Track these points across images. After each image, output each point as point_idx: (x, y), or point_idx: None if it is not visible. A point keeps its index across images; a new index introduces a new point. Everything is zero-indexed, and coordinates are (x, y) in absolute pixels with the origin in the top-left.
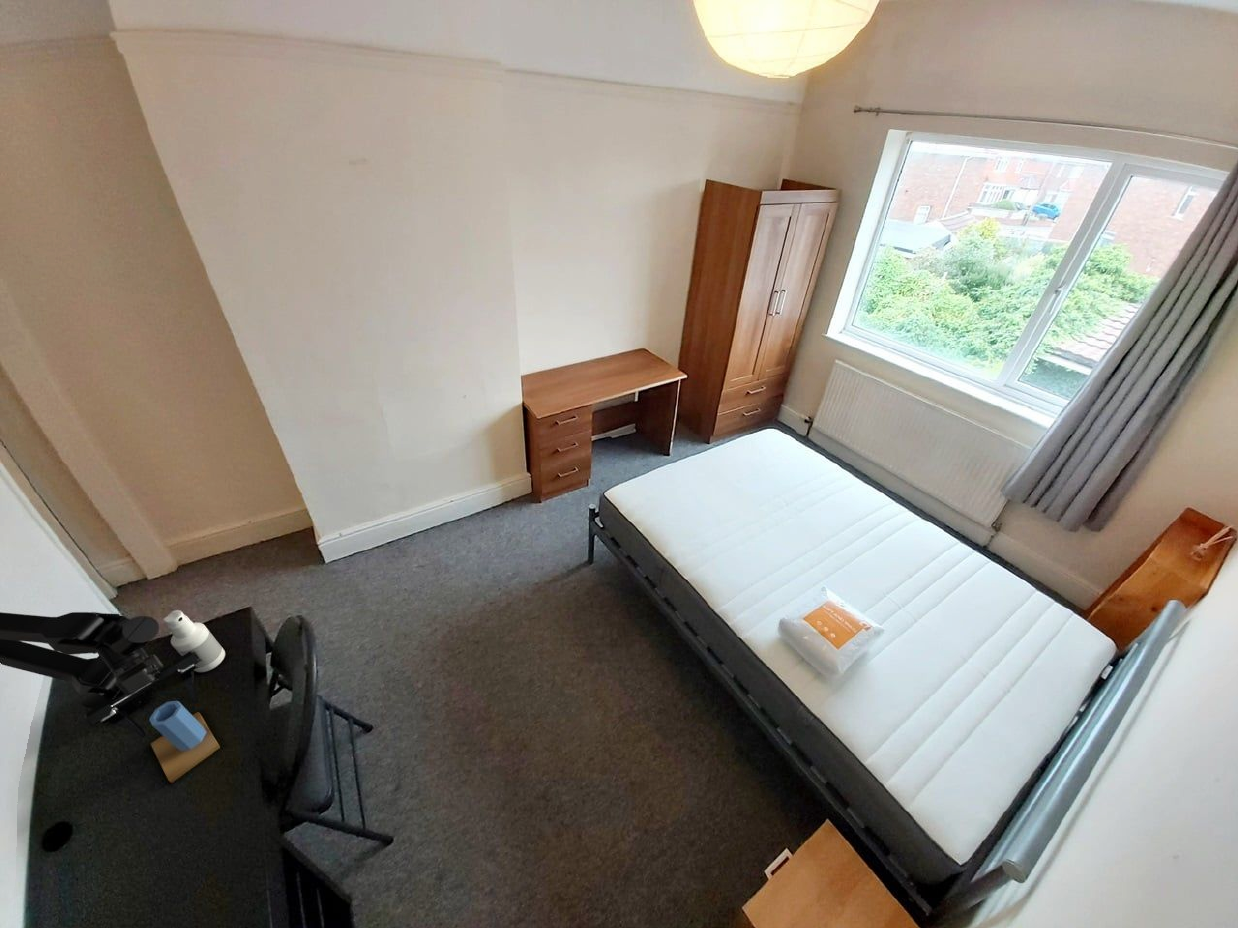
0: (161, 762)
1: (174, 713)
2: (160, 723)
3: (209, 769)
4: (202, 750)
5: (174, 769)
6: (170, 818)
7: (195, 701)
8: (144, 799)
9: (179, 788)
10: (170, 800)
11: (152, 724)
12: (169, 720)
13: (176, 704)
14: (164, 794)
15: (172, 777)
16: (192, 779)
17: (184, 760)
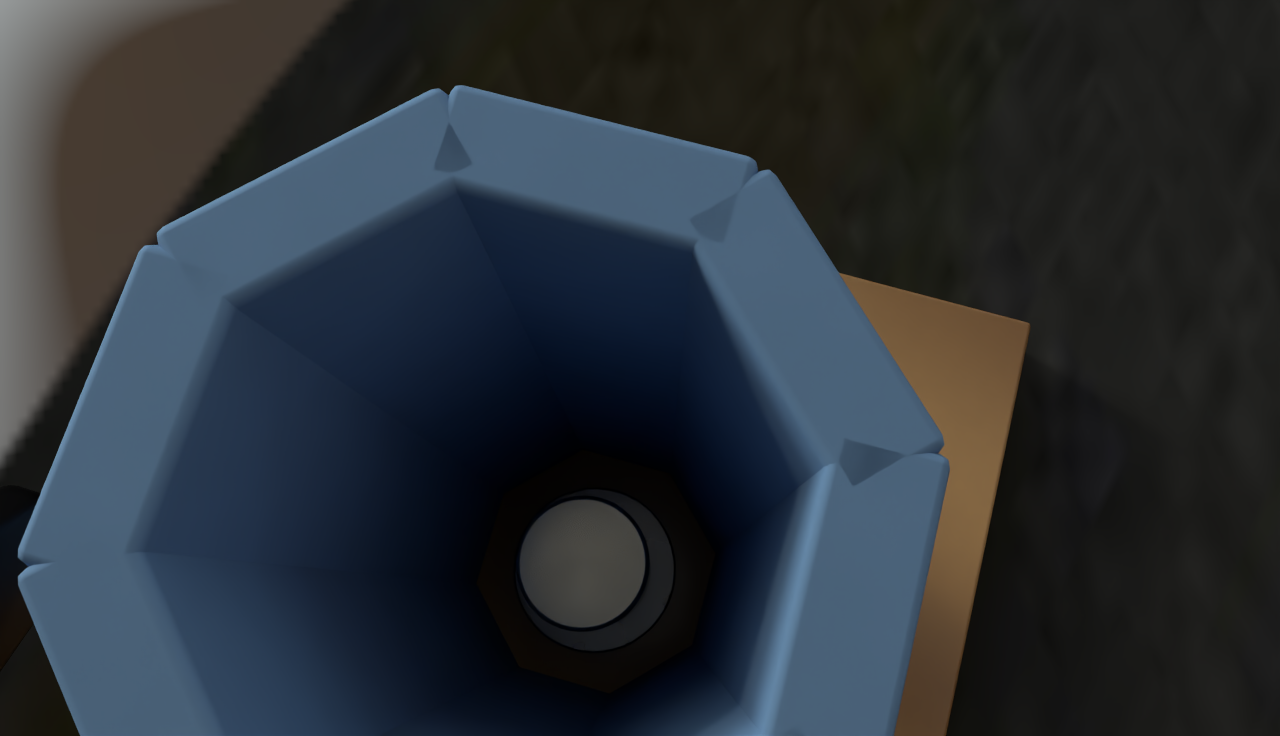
0: (952, 632)
1: (395, 180)
2: (793, 269)
3: (742, 107)
4: None
5: (927, 388)
6: (1196, 20)
7: (25, 492)
8: (1245, 447)
9: (999, 209)
10: (1109, 179)
11: (933, 478)
12: (611, 132)
13: (137, 455)
14: (1109, 295)
15: (991, 313)
16: (883, 172)
17: None
